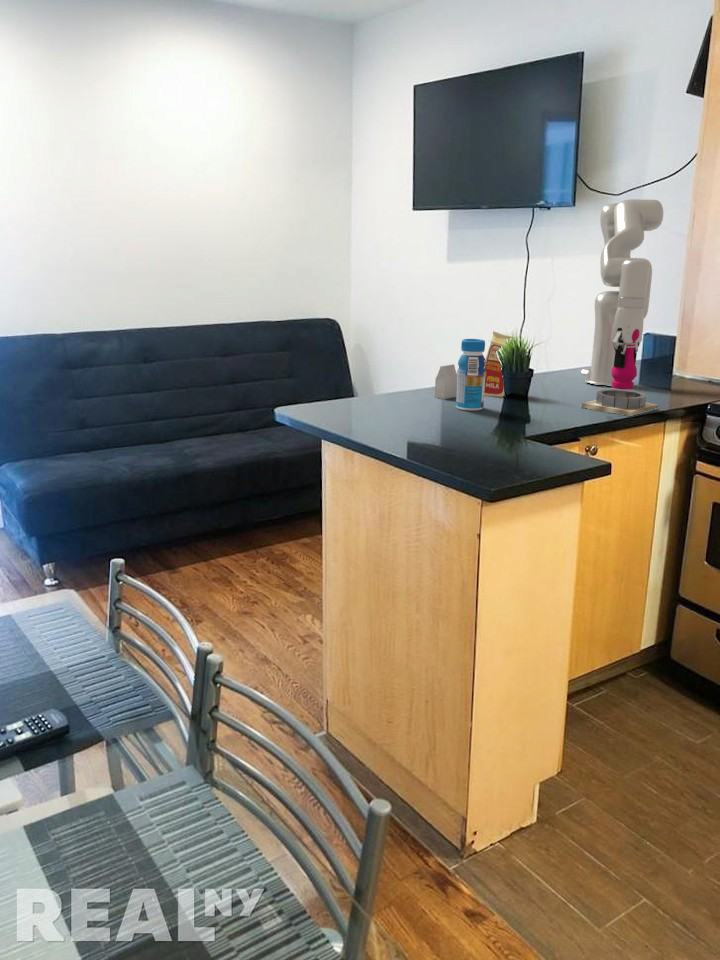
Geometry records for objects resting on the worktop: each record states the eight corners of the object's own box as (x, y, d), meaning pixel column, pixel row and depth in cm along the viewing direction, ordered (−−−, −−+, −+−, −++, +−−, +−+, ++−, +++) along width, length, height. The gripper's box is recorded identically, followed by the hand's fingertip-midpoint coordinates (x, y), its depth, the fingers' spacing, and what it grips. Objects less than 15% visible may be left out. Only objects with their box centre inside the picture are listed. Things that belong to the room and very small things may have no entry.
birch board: (581, 407, 243) (582, 402, 243) (609, 401, 254) (610, 396, 253) (630, 416, 232) (631, 411, 232) (657, 409, 243) (658, 404, 242)
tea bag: (457, 396, 257) (458, 365, 255) (444, 399, 253) (445, 367, 250) (447, 394, 260) (449, 363, 257) (434, 397, 255) (436, 365, 252)
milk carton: (479, 395, 260) (483, 332, 254) (486, 390, 268) (490, 329, 263) (507, 397, 257) (512, 333, 251) (513, 392, 265) (518, 330, 259)
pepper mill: (622, 390, 237) (630, 321, 231) (604, 386, 243) (611, 318, 237) (640, 389, 240) (648, 320, 234) (622, 384, 246) (630, 317, 240)
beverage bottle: (449, 408, 240) (452, 339, 234) (466, 404, 246) (470, 337, 240) (472, 412, 234) (477, 342, 228) (489, 408, 240) (494, 340, 234)
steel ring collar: (587, 403, 243) (587, 393, 242) (611, 397, 252) (612, 387, 251) (630, 410, 233) (631, 400, 232) (653, 404, 242) (654, 394, 242)
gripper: (634, 301, 242) (627, 362, 248) (604, 304, 231) (597, 367, 236) (658, 303, 237) (650, 365, 243) (628, 306, 226) (621, 371, 231)
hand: (624, 365), depth 239 cm, fingers closed on pepper mill, 5 cm apart
